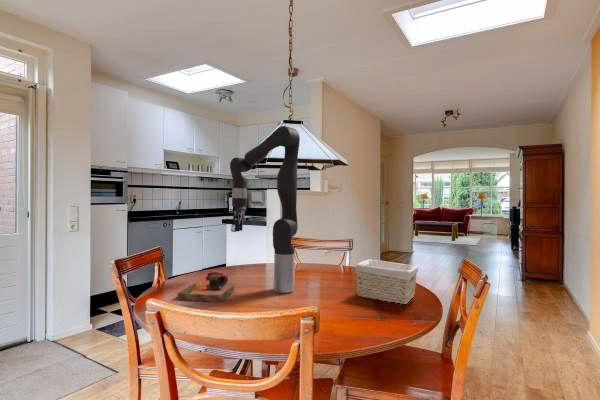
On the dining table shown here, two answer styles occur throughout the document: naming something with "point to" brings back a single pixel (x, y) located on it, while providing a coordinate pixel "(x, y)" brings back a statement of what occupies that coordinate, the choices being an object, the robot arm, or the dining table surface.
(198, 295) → the wooden corral
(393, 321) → the dining table surface
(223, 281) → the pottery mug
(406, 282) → the storage basket
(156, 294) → the dining table surface
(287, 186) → the robot arm
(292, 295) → the dining table surface
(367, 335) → the dining table surface
